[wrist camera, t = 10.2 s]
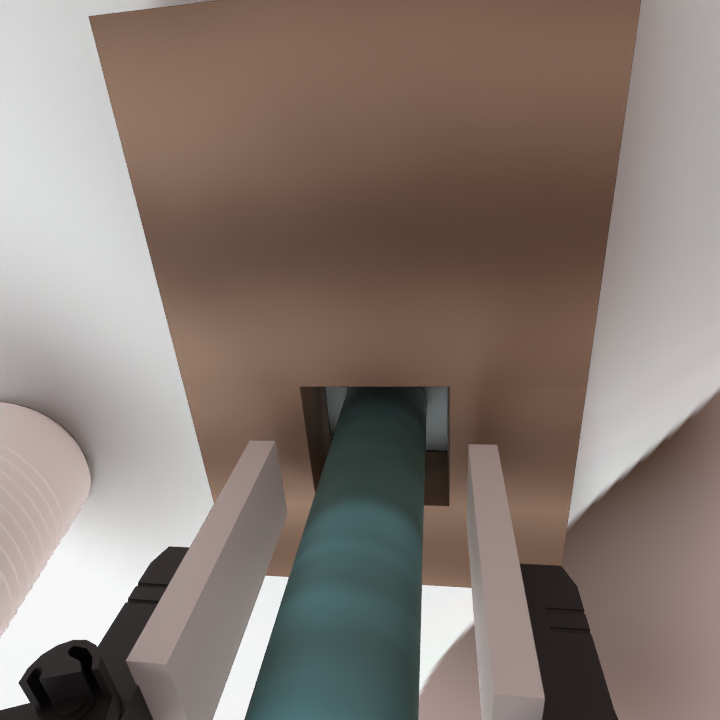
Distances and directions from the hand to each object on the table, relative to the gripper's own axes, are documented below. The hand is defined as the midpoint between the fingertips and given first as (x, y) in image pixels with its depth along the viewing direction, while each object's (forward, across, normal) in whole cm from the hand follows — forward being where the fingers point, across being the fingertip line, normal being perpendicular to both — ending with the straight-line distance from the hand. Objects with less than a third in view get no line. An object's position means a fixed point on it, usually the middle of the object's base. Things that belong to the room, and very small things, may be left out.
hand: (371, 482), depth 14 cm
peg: (+5, 0, 0) cm, 5 cm away
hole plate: (+5, 0, +3) cm, 6 cm away
